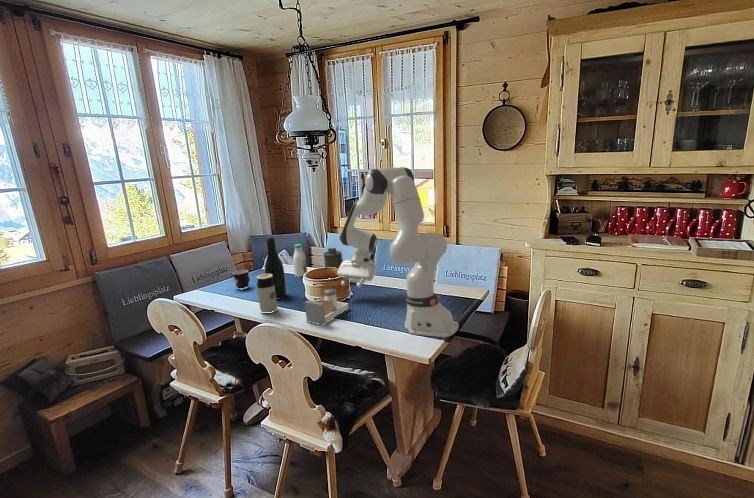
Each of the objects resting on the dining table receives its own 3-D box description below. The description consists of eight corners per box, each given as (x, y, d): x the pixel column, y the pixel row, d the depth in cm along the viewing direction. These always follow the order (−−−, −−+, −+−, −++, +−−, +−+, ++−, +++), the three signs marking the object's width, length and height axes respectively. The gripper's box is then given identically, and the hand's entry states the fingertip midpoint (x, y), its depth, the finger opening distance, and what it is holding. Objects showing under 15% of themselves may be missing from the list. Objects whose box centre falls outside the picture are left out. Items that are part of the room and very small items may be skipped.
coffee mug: (234, 287, 237) (232, 271, 235) (249, 285, 241) (247, 268, 238) (236, 293, 227) (234, 276, 224) (252, 290, 230) (250, 273, 228)
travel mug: (257, 311, 198) (252, 276, 193) (272, 306, 203) (267, 272, 199) (266, 315, 192) (261, 279, 188) (280, 310, 197) (276, 275, 193)
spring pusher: (334, 314, 186) (332, 300, 184) (332, 315, 185) (331, 301, 183) (322, 312, 189) (321, 298, 187) (320, 313, 188) (319, 299, 186)
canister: (322, 283, 235) (319, 250, 231) (332, 278, 244) (329, 245, 240) (338, 285, 230) (335, 251, 226) (347, 279, 239) (345, 246, 235)
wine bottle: (264, 297, 218) (256, 237, 210) (281, 292, 224) (274, 233, 217) (273, 301, 210) (265, 239, 202) (291, 296, 217) (284, 236, 209)
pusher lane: (348, 309, 193) (347, 290, 191) (322, 325, 177) (320, 304, 175) (333, 306, 198) (331, 288, 196) (306, 322, 182) (304, 302, 179)
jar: (340, 310, 191) (338, 289, 188) (333, 315, 186) (331, 293, 183) (330, 309, 194) (328, 288, 191) (323, 313, 189) (321, 292, 186)
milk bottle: (300, 278, 248) (297, 246, 243) (292, 276, 253) (288, 245, 248) (309, 274, 254) (306, 243, 249) (301, 273, 259) (298, 242, 254)
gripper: (340, 257, 208) (330, 281, 202) (373, 259, 198) (364, 284, 192) (345, 263, 213) (336, 286, 207) (379, 266, 203) (370, 291, 197)
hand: (350, 285), depth 199 cm, fingers open, 8 cm apart
